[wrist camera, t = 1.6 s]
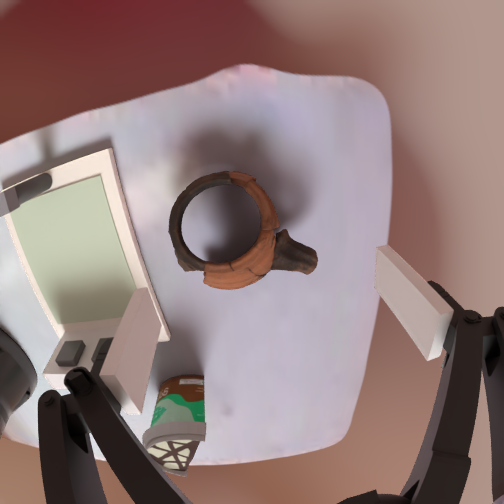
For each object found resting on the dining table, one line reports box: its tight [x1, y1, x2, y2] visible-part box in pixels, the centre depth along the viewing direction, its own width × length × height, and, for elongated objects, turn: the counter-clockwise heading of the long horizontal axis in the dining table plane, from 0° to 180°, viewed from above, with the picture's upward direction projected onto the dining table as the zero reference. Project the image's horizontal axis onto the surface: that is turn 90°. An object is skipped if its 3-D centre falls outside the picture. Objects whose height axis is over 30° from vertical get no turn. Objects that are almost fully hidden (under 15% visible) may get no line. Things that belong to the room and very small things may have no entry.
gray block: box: [0, 173, 52, 217], centre depth 18 cm, size 2×2×8 cm
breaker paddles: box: [55, 337, 114, 366], centre depth 24 cm, size 7×1×3 cm, turn 99°
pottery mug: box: [168, 171, 318, 290], centre depth 24 cm, size 12×10×8 cm
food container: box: [142, 375, 206, 477], centre depth 31 cm, size 12×6×10 cm, turn 161°
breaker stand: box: [0, 148, 171, 389], centre depth 23 cm, size 14×20×8 cm
